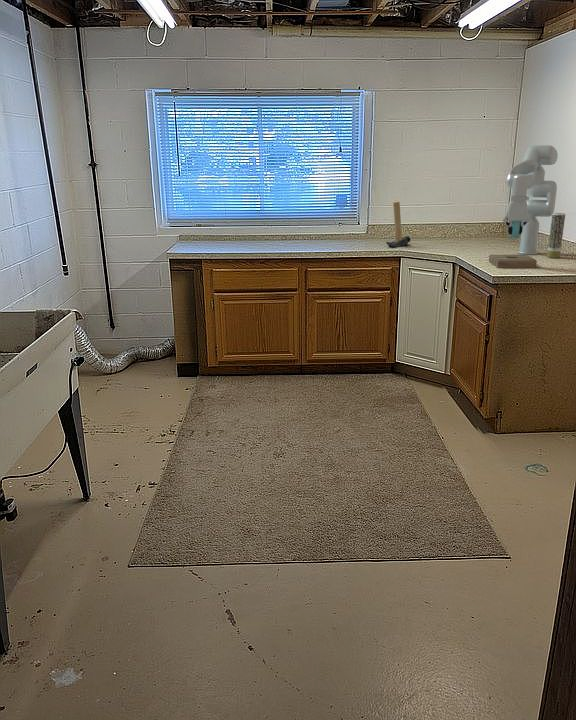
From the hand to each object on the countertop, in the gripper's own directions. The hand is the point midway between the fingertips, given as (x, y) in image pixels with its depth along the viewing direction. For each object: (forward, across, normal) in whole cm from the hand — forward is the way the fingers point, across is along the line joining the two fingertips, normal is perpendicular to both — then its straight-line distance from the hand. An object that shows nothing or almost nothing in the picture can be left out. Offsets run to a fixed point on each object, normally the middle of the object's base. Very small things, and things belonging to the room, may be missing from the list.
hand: (514, 233), depth 321 cm
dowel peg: (+2, 0, 0) cm, 2 cm away
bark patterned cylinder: (+17, -30, -24) cm, 42 cm away
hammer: (+17, +55, -73) cm, 93 cm away
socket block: (+17, 0, 0) cm, 17 cm away
